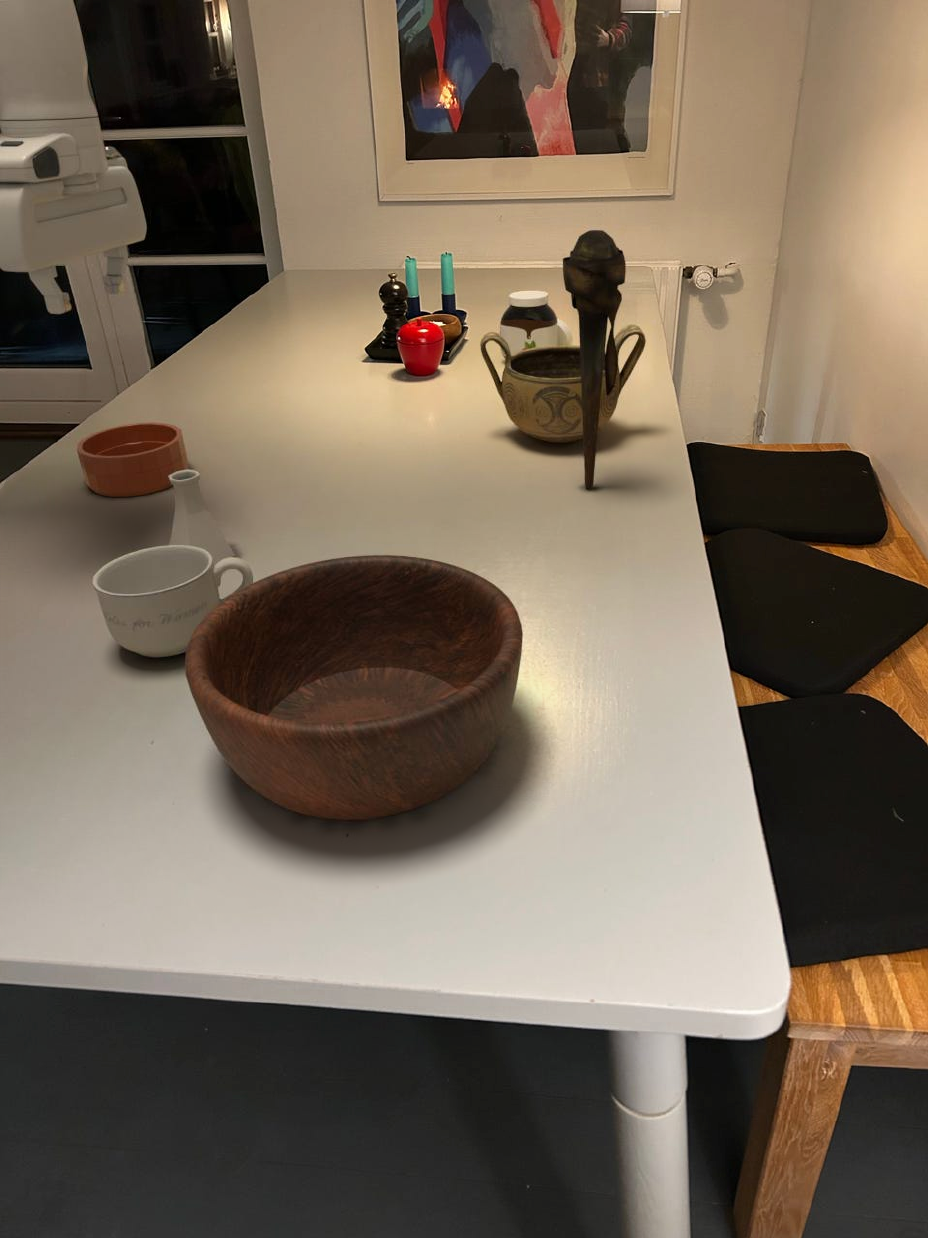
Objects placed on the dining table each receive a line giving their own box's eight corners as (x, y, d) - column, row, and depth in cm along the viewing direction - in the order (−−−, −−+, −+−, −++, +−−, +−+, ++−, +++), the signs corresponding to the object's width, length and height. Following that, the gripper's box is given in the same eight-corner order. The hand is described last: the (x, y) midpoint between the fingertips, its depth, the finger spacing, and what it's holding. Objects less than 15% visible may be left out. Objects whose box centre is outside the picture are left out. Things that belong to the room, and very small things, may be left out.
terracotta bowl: (72, 499, 119) (60, 459, 116) (107, 461, 130) (98, 424, 127) (174, 495, 118) (165, 455, 116) (200, 458, 130) (193, 420, 127)
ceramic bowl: (632, 415, 138) (638, 312, 130) (646, 456, 123) (653, 343, 115) (484, 418, 139) (481, 317, 131) (481, 460, 125) (477, 348, 117)
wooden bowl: (521, 650, 84) (520, 549, 78) (527, 850, 62) (526, 730, 57) (251, 654, 85) (232, 555, 80) (166, 852, 63) (132, 734, 58)
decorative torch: (577, 502, 111) (583, 238, 96) (552, 483, 117) (553, 230, 101) (626, 492, 113) (639, 231, 98) (599, 473, 119) (607, 224, 103)
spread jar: (496, 366, 164) (494, 298, 158) (513, 349, 173) (512, 285, 167) (562, 369, 160) (562, 300, 154) (575, 352, 169) (577, 286, 163)
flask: (247, 557, 102) (231, 473, 97) (189, 580, 98) (170, 493, 93) (213, 538, 107) (196, 457, 102) (156, 559, 103) (136, 476, 97)
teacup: (97, 674, 83) (74, 597, 79) (130, 613, 92) (111, 542, 88) (250, 666, 83) (235, 589, 79) (268, 606, 92) (256, 534, 88)
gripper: (95, 144, 97) (122, 280, 104) (-49, 161, 80) (-4, 323, 87) (147, 144, 95) (171, 283, 103) (11, 162, 79) (52, 326, 86)
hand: (89, 301), depth 95 cm, fingers open, 8 cm apart
